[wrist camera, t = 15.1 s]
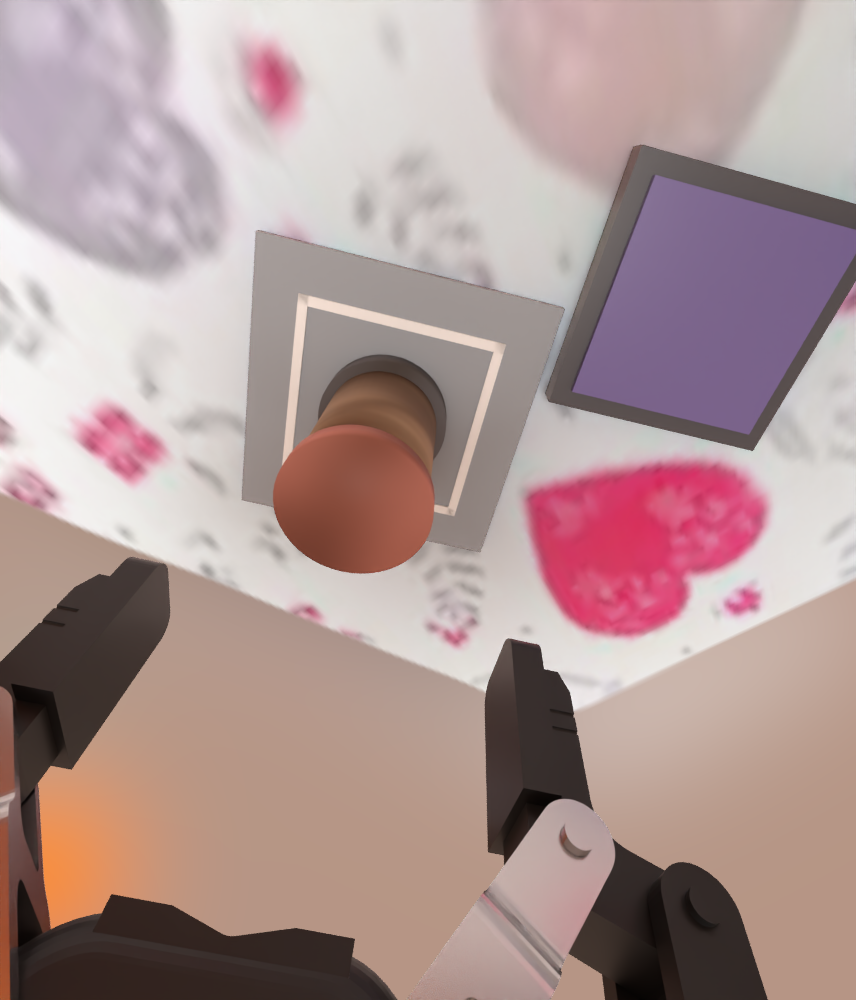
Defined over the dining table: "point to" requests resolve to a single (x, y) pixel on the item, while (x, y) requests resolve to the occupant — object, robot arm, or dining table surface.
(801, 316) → the ink pad
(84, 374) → the dining table surface
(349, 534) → the stamp
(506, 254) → the dining table surface
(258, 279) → the grey square plate
